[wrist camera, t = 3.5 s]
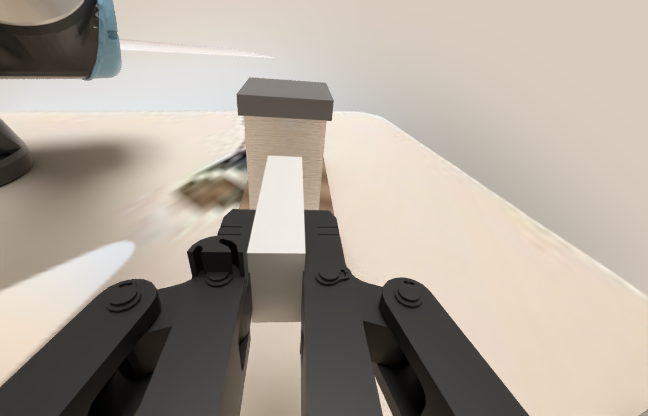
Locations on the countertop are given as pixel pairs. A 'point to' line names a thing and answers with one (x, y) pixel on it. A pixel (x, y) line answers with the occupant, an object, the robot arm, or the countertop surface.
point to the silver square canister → (285, 130)
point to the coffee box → (644, 413)
